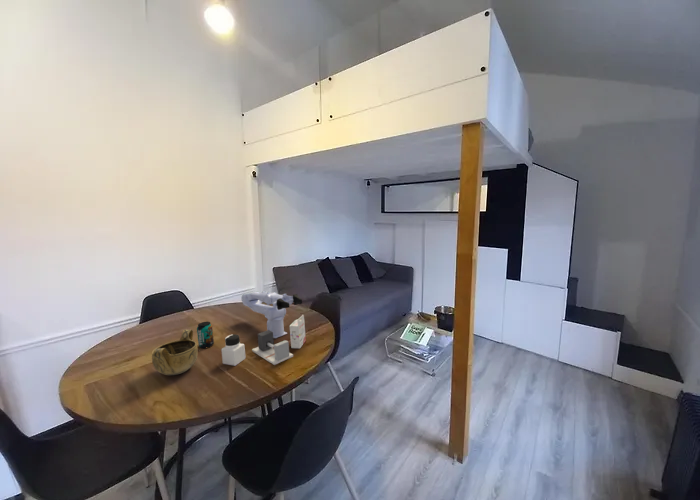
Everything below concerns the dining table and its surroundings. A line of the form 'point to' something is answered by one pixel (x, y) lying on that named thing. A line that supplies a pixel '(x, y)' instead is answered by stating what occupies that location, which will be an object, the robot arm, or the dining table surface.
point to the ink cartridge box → (297, 333)
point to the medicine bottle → (233, 350)
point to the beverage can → (205, 334)
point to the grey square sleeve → (265, 340)
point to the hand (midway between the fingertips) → (295, 303)
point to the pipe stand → (275, 352)
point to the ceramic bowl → (176, 355)
